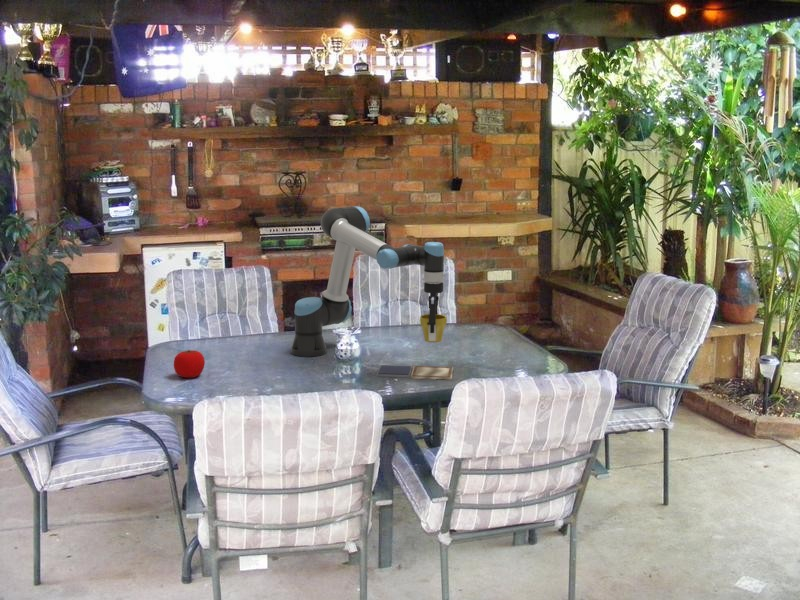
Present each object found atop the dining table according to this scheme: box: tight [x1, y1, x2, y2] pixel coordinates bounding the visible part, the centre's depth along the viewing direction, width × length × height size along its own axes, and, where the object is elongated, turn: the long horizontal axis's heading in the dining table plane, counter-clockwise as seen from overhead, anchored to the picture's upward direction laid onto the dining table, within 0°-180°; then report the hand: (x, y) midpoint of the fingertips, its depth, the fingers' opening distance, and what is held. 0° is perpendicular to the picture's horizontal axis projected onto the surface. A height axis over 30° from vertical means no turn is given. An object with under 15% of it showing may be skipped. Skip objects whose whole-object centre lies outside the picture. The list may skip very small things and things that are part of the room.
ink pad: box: [376, 364, 413, 379], centre depth 363 cm, size 13×13×1 cm
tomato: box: [173, 350, 206, 379], centre depth 354 cm, size 12×12×10 cm
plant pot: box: [419, 313, 448, 343], centre depth 358 cm, size 10×10×10 cm
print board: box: [410, 365, 454, 381], centre depth 361 cm, size 16×16×1 cm
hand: (432, 337), depth 359 cm, fingers closed on plant pot, 10 cm apart
